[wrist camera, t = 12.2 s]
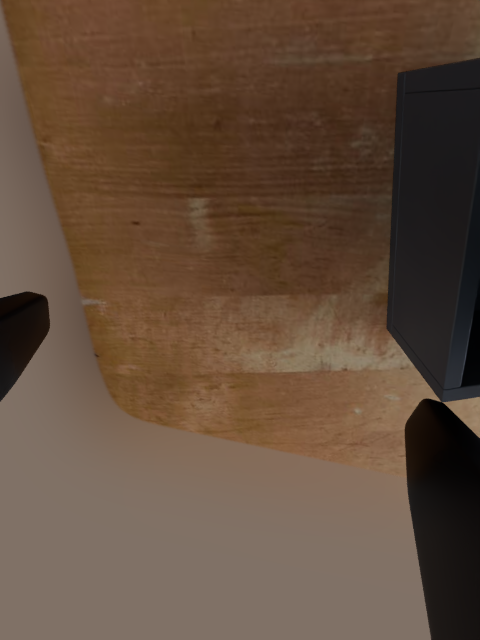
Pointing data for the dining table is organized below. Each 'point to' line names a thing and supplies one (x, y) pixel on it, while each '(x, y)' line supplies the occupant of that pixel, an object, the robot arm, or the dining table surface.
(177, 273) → the dining table surface
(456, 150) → the box
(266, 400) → the dining table surface
